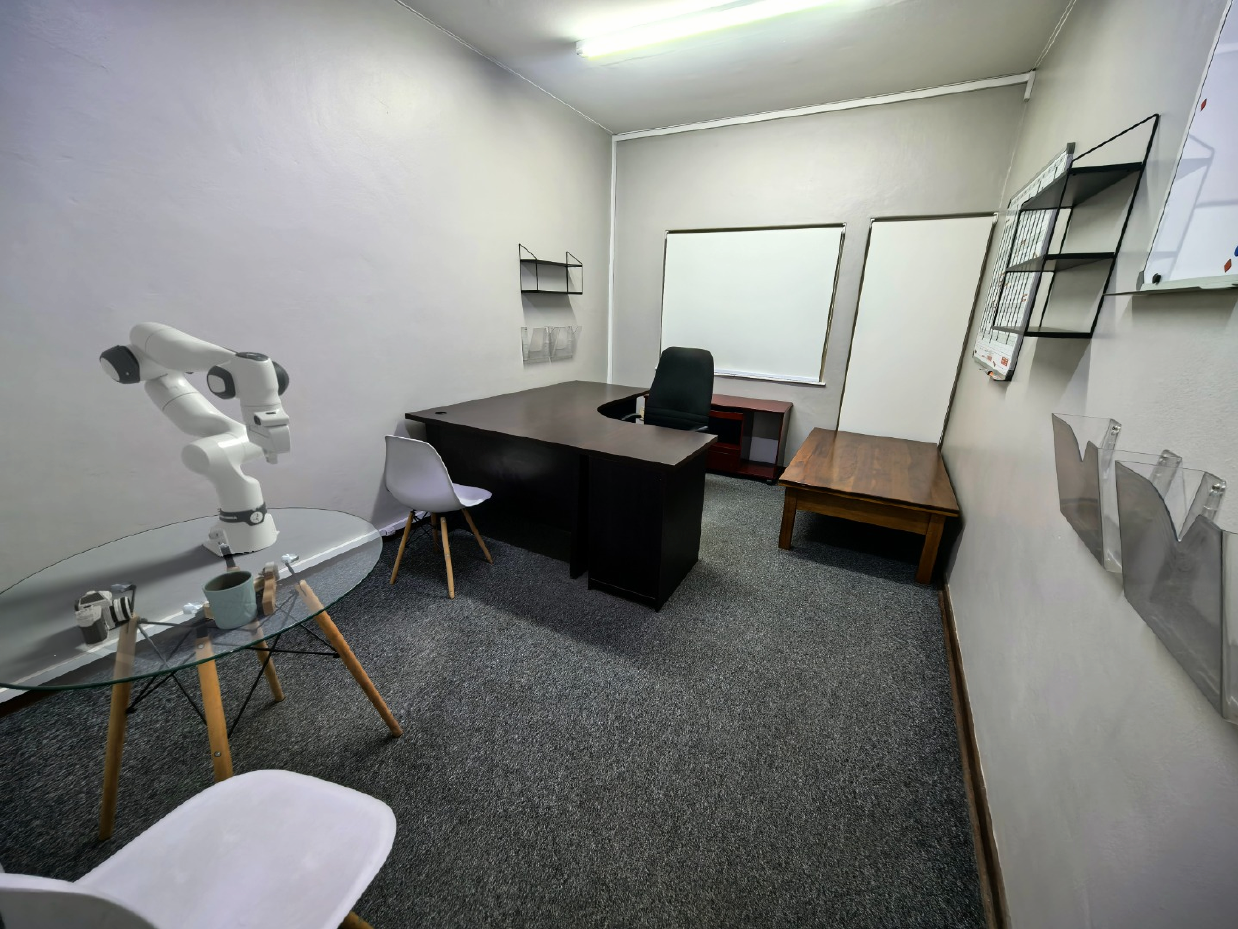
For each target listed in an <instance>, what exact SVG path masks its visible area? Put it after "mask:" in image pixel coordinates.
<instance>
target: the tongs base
mask: <svg viewBox="0 0 1238 929" xmlns="http://www.w3.org/2000/svg"><path fill="white" fill-rule="evenodd" d="M265 567H266V566H265ZM265 567H263V568H262V571H259V572H258V573H257V575H258V577H256V578H253V581H254V591H255V594H257V593H258V592H259V591H261V590H262V589H264V587H265V581H266V577H265ZM273 574H274V575H275V579H276V582H278V581H279V580H280V579H281V575H280V572H279V568H278V565H277V564H274V567H273ZM202 607H203V612H204V615H205V619H206V618H209V619H213V620H214V617H213V613H212V612H211V609H210V607H209V602H208V603H206V604H203V605H202ZM209 619H208V620H209Z"/></svg>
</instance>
